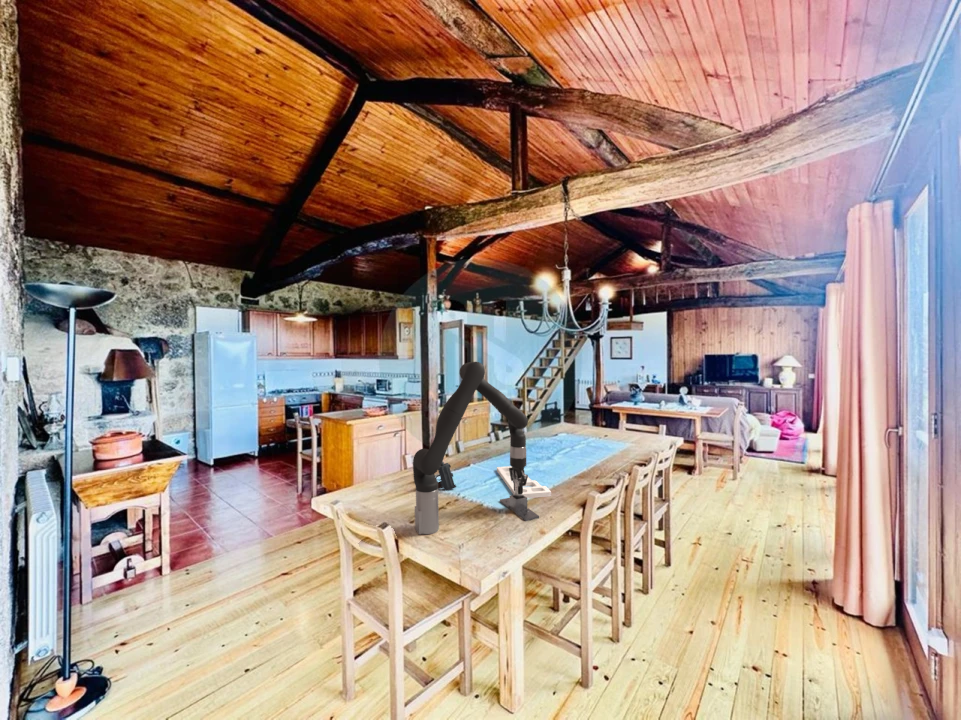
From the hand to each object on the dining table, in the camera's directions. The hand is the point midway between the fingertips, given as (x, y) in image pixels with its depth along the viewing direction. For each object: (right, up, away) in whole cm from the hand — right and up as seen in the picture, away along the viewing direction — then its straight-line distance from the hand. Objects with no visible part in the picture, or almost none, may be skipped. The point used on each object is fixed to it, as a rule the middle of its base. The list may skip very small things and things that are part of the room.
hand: (518, 492), depth 188 cm
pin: (0, -5, 0) cm, 5 cm away
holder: (+5, -7, +37) cm, 38 cm away
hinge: (0, -8, 0) cm, 8 cm away
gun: (-38, -8, +26) cm, 47 cm away
